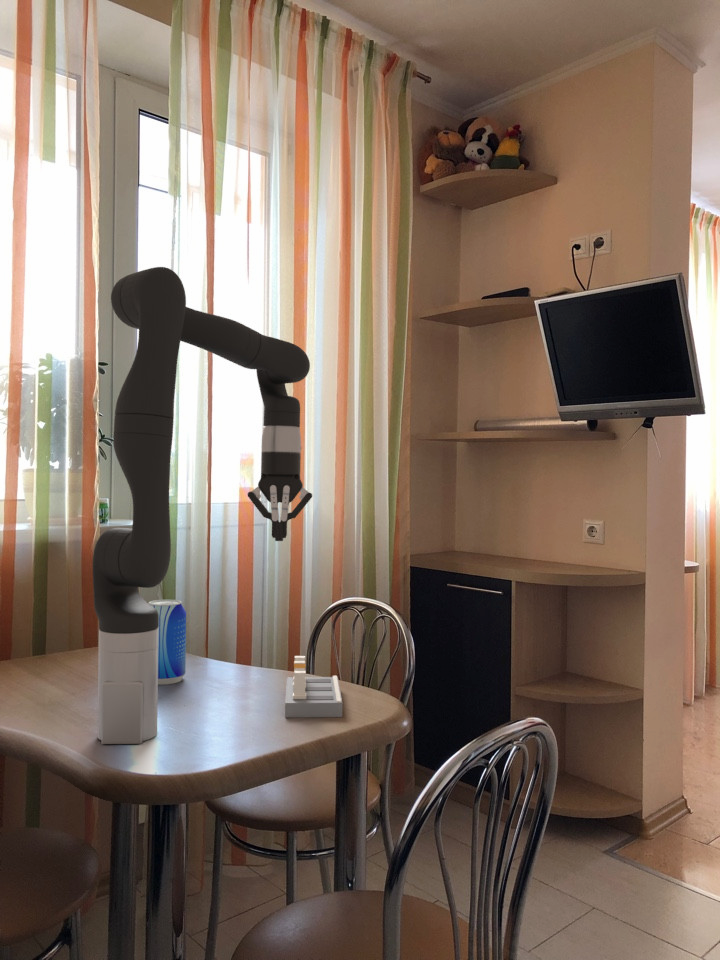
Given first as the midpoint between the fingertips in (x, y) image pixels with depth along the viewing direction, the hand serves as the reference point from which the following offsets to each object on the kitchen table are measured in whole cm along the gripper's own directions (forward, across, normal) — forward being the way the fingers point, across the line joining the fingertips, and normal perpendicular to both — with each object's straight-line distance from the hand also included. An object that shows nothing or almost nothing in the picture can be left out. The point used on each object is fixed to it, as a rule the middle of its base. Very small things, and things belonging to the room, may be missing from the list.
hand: (279, 540), depth 155 cm
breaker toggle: (+27, +5, -6) cm, 28 cm away
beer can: (+30, -23, +11) cm, 39 cm away
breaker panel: (+30, +7, -6) cm, 31 cm away
